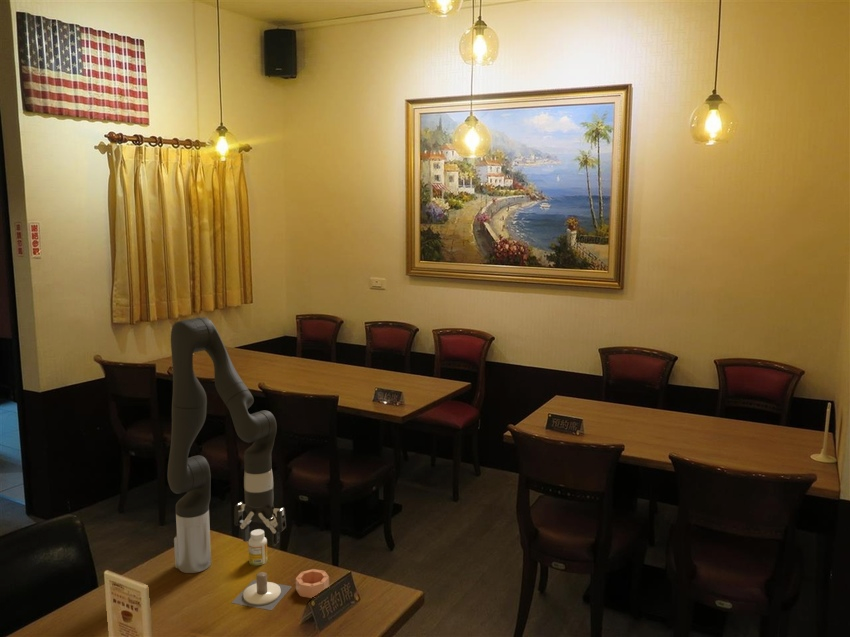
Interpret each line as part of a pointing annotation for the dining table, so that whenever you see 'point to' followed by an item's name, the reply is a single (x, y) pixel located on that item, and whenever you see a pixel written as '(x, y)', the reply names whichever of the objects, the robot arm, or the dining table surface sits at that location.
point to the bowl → (311, 582)
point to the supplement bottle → (257, 548)
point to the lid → (262, 591)
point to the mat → (269, 606)
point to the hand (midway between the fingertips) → (260, 542)
